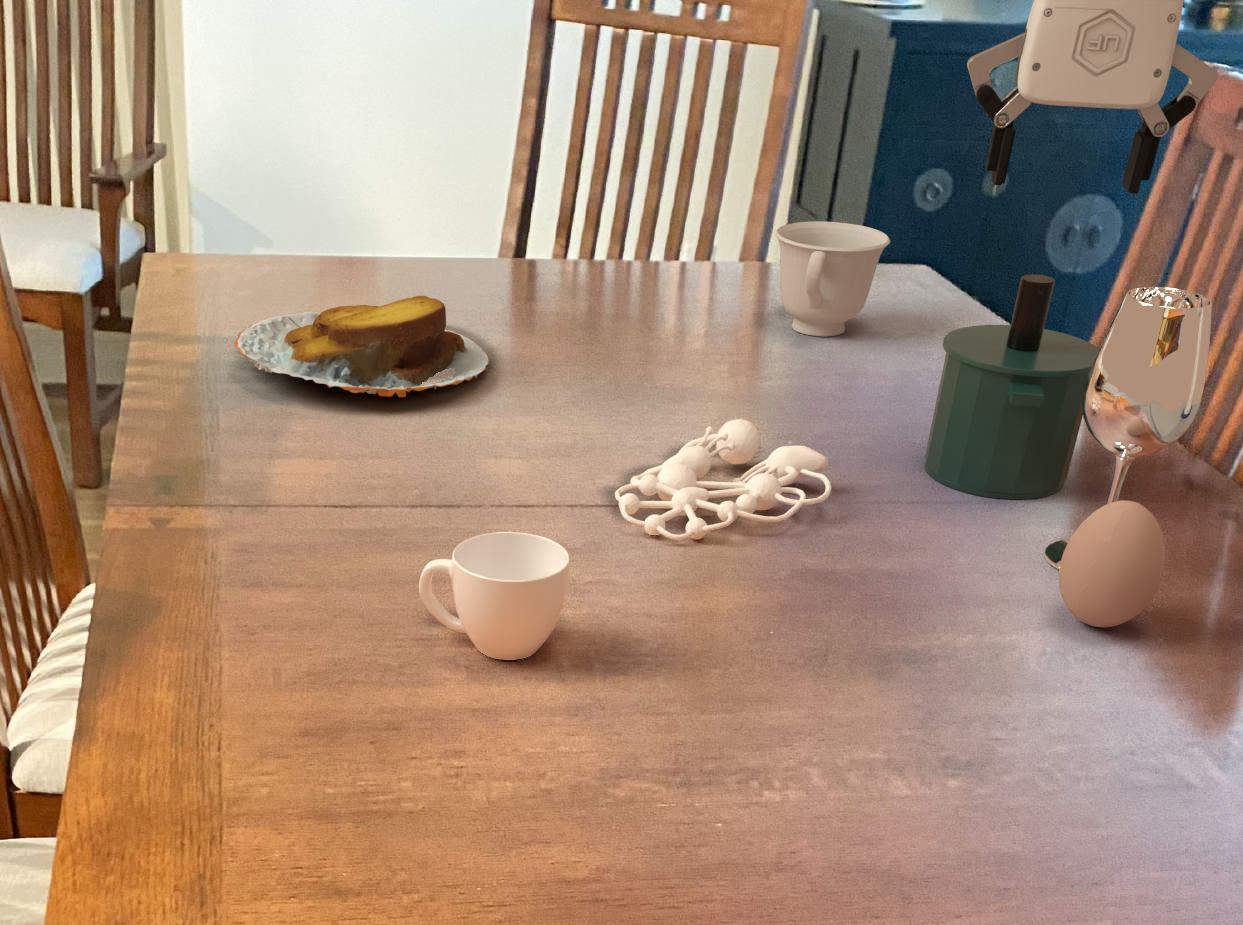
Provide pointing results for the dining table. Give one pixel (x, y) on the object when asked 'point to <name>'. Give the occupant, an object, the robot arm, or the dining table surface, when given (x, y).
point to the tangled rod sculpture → (755, 488)
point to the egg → (1112, 564)
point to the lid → (1023, 339)
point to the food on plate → (365, 347)
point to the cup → (502, 591)
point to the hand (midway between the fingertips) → (1063, 185)
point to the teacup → (826, 273)
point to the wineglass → (1146, 379)
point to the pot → (1003, 431)
